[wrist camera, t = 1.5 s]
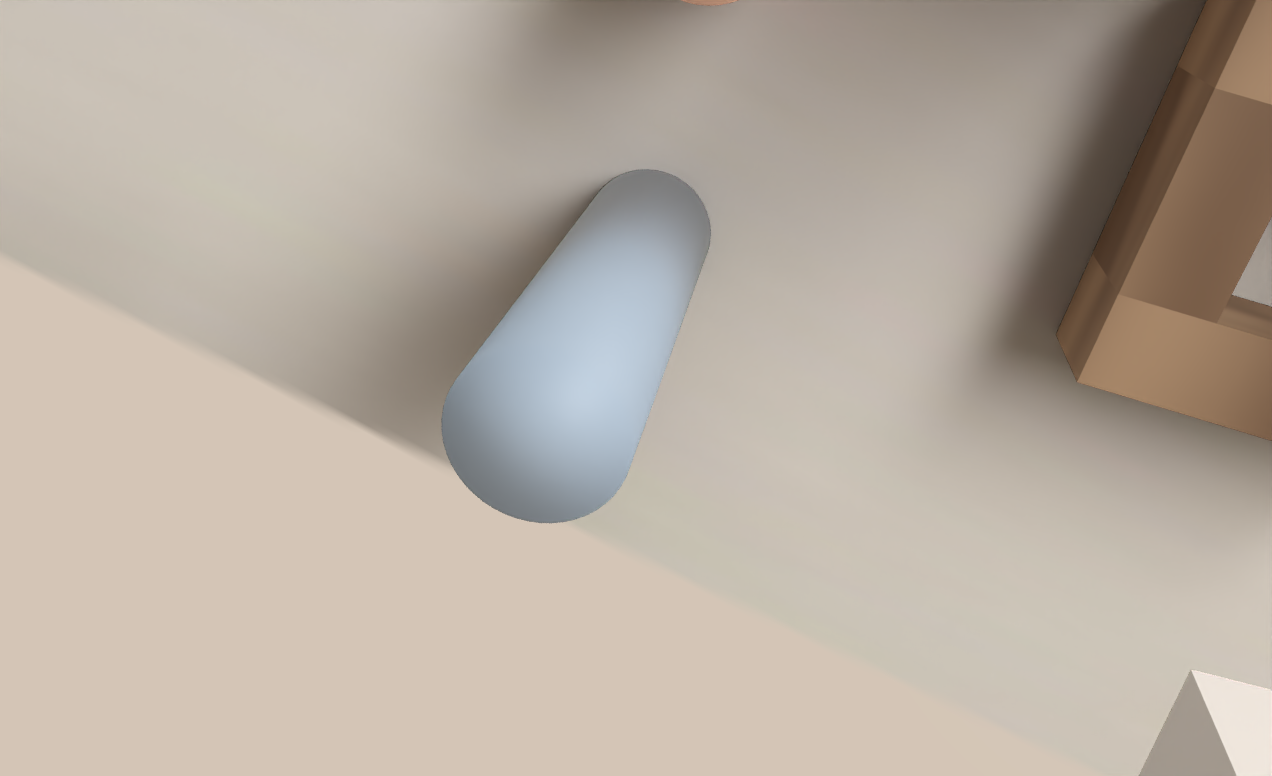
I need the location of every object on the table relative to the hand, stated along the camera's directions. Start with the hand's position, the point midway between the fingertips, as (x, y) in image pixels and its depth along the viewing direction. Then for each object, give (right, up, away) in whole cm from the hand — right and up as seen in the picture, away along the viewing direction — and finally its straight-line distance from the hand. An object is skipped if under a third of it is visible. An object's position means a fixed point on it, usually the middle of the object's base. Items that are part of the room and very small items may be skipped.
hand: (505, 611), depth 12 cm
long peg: (+2, +6, +18) cm, 19 cm away
